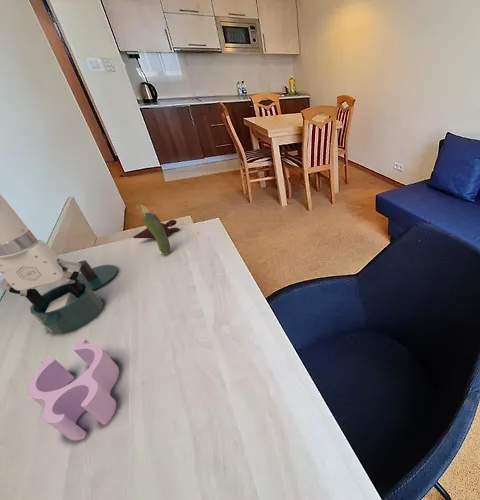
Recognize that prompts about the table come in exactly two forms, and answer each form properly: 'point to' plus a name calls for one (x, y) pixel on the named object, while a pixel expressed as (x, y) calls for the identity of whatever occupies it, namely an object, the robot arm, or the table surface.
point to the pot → (68, 309)
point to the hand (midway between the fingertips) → (60, 297)
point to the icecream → (148, 234)
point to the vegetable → (155, 229)
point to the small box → (61, 302)
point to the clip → (75, 390)
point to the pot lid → (96, 274)
